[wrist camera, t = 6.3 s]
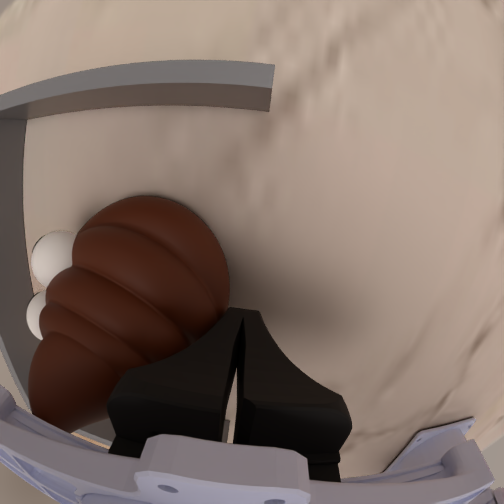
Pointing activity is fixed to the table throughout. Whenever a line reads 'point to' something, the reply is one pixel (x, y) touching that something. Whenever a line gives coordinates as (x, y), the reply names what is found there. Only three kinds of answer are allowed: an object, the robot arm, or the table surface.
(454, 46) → the table surface
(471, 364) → the table surface
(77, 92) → the bin
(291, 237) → the table surface
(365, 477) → the robot arm
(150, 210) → the poop emoji
